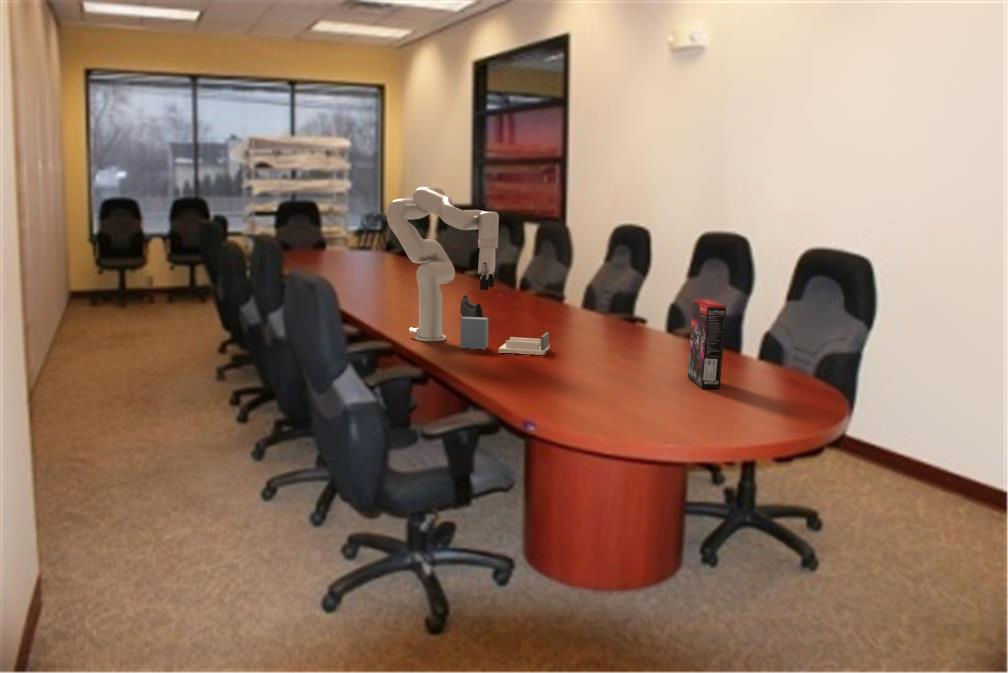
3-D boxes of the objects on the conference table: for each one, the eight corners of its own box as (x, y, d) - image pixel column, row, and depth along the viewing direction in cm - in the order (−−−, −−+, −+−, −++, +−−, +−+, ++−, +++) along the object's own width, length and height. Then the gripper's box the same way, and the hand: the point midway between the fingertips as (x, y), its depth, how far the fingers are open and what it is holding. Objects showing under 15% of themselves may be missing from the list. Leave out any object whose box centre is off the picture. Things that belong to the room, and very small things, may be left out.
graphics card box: (686, 377, 303) (690, 298, 299) (706, 377, 304) (710, 298, 299) (701, 389, 287) (706, 305, 282) (722, 389, 287) (727, 305, 282)
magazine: (484, 309, 389) (469, 281, 414) (477, 309, 388) (462, 281, 413) (481, 343, 396) (466, 314, 422) (474, 344, 395) (459, 314, 421)
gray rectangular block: (460, 348, 346) (460, 318, 344) (463, 346, 350) (463, 316, 348) (485, 350, 344) (485, 319, 342) (487, 348, 348) (488, 317, 346)
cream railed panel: (498, 353, 338) (499, 335, 337) (506, 346, 351) (507, 329, 350) (542, 356, 334) (543, 338, 333) (549, 349, 348) (549, 331, 346)
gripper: (483, 241, 350) (482, 285, 354) (473, 245, 334) (472, 290, 337) (502, 242, 349) (500, 286, 352) (493, 246, 332) (491, 291, 336)
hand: (486, 288), depth 345 cm, fingers open, 9 cm apart
